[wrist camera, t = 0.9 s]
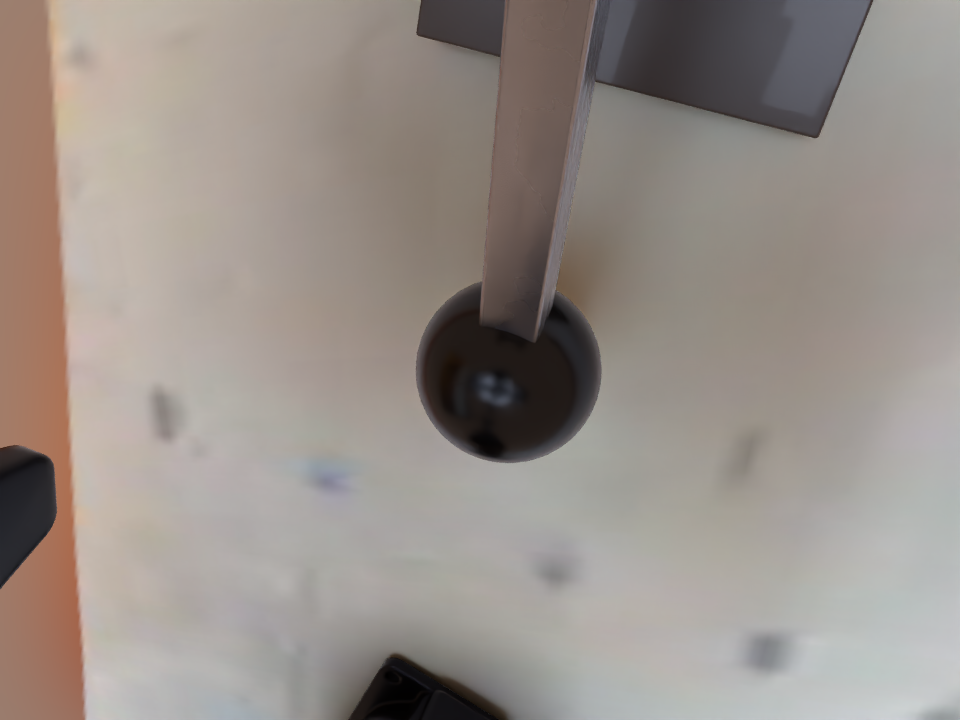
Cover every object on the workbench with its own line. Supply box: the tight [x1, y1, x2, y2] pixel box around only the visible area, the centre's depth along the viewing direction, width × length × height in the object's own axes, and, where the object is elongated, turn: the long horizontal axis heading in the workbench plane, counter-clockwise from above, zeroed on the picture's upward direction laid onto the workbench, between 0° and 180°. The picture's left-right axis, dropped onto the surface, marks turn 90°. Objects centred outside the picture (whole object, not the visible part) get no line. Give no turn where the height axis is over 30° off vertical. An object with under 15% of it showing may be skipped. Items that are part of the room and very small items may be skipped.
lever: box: [416, 0, 610, 463], centre depth 11 cm, size 15×4×4 cm, turn 168°
